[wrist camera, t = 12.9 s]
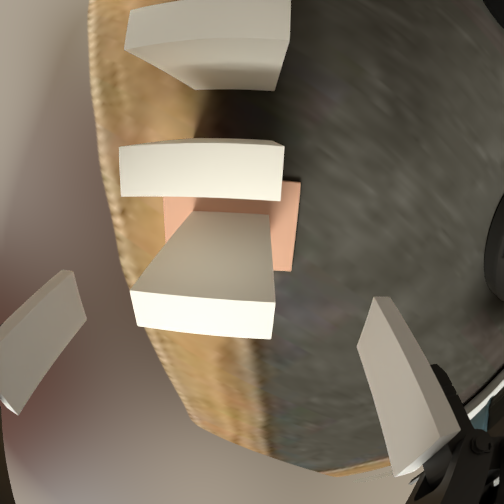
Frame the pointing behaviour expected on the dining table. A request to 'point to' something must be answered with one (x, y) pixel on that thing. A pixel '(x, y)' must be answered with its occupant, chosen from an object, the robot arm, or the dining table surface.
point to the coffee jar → (496, 10)
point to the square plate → (485, 395)
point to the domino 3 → (211, 278)
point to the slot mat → (278, 211)
